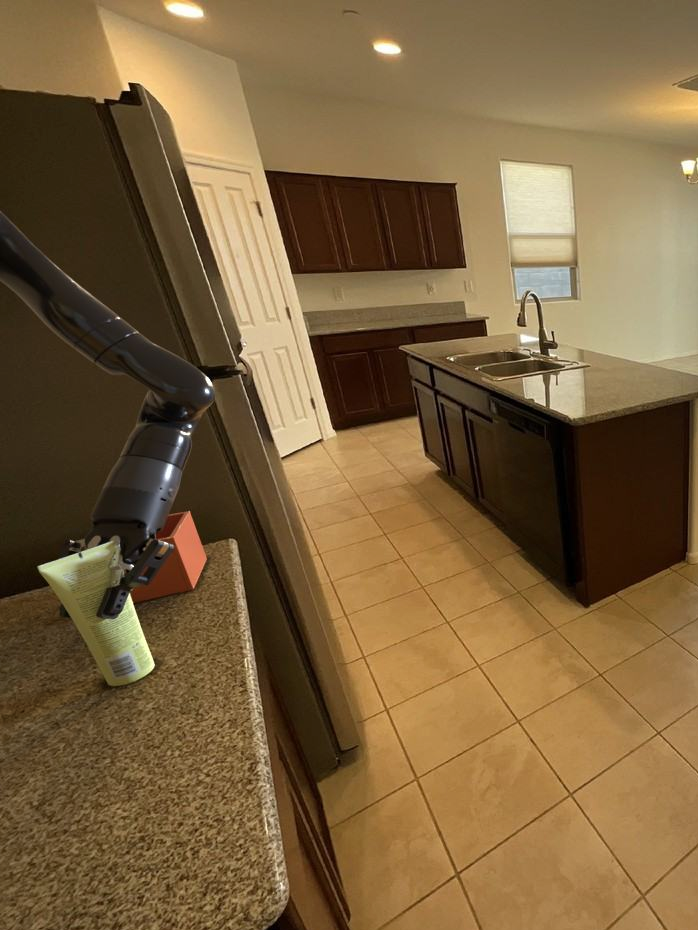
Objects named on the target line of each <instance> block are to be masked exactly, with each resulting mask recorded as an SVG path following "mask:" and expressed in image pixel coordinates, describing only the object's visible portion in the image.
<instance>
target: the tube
mask: <svg viewBox="0 0 698 930" xmlns="http://www.w3.org/2000/svg"><path fill="white" fill-rule="evenodd" d="M114 543H115V540H114V541H111V542H108V543H105V544H103V545H100V546H97V547H94V548H91V549H88V550H85V551H82V552H80V553H76V554H73V555H70V556H67V557H64V558H61V559H59V558H58V559H56V560H53V561H49V562H46V563H44V564H40V565H37V566H36V568H37V571H38V573H39V574H40V575H41V576H42V578H44V579H45V581H46V582H47V583H48V585H49V586H50V587H51V589H52V590H53V592H54V593H55V594H56V596H57V598H58V599H59V601H60V603H61V604H63V605H64V607H65V609H66V610H67V612H68V613H69V615H70V617H71V618H72V619H71V620H72V621H73V623H74V625H75V627H76V628H77V630H78V632H79V633H80V635H81V637H82V639H83V640H84V642H85V644H86V646H87V648H88V649H89V651H90V653H91V655H92V657H93V659H94V660H95V662H96V664H97V666H98V669H99V670H100V672H101V674H102V675H103V678H104V679H105V681H106V684H107V685H108V686H110V687H119V686H125V685H128V684H131V683H134V682H136V681H138V680H140V679H142V678H143V677H146V676H147V675H148V674H150V673H151V672H152V671H153V670H154V668H155V661H154V658H153V655H152V653H151V650H150V648H149V645H148V642H147V640H146V637H145V634H144V631H143V629H142V627H141V623H140V620H139V617H138V615H137V612H136V609H135V608H136V607H135V606H134V603H133V602H132V599H131V596H130V593H129V595H128V598H127V600H126V602H125V605H124V608H123V610H122V612H121V613H120V614H119V615H118V617H117V618H116V619H105V618H99V617H97V615H96V614H97V611H98V609H99V606H100V604H101V601H102V599H103V597H104V594H105V592H106V589H107V588H112V586H111V585H110V580H111V570H110V569H109V567H108V566H109V562H110V560H111V558H112V556H113V553H114V551H115V548H114V547H113V544H114ZM114 554H115V553H114ZM124 577H125V576H124Z"/></svg>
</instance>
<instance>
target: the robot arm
mask: <svg viewBox="0 0 698 930" xmlns="http://www.w3.org/2000/svg"><path fill="white" fill-rule="evenodd" d="M0 282H1V283H3V284H4V285H5V286H6V287H8V288H9V289H10V290H11V291H12V292H13V293H15V294H16V295H17V296H18V297H19V298H21V300H22V301H23V302H24V304H26V305H27V306H28V307H29V308H30V309H31V311H33V313H34V314H35V315H36V316H37V317H38V318H39V319H40V320H41V321H42V322H43V324H45V326H47V327H48V328H49V329H50V330H51V331H52V332H53V333H54V334H55V335H56V336H57V337H59V339H61V340H62V341H64V342H65V343H66V344H67V345H69V346H70V347H72V348H73V349H74V350H76V351H77V352H78V353H79V354H81V355H82V356H84V357H85V358H86V359H88V360H89V361H90V362H92V363H93V364H95V366H98V367H99V368H100V369H102V370H103V371H104V372H107V373H108V374H110V375H112V376H115V377H127V376H128V378H131V379H132V380H134V381H135V382H137V383H139V384H140V385H142V386H144V387H145V388H146V389H148V390H147V393H146V394H145V396H144V399H143V401H142V404H141V407H140V409H139V413H138V415H137V418H136V419H137V420H136V421H135V422H136V423H135V427H134V428H133V429H132V431H131V433H130V434H129V436H128V438H127V440H126V442H125V444H124V447H123V448H122V450H121V453H120V455H119V458H118V460H117V462H116V463H115V464H114V466H113V467H112V468H111V470H110V473H109V474H108V476H107V478H106V480H105V483H104V485H103V487H102V490H101V491H100V494H99V496H98V498H97V500H96V503H95V504H94V507H93V509H92V511H91V514H90V516H89V517H90V520H91V521H92V523H93V527H92V529H91V530H90V531H89V532H88V533H87V534H86V535H85V537H84V538H82V539H78V540H71V539H64V540H62V541H61V542H60V545H59V553H58V559H61V558H64V557H67V556H70V555H73V554H76V553H80V552H82V551H85V550H88V549H91V548H94V547H97V546H100V545H103V544H105V543H108V542H111V541H114V540H115V543H114V544H113V547H114V548H115V551H114V553H115V554H114V553H113V556H112V558H111V560H110V562H109V566H108V567H109V569H110V570H111V580H110V585H111V586H112V588H107V589H106V592H105V594H104V597H103V599H102V601H101V604H100V606H99V609H98V611H97V614H96V615H97V617H99V618H105V619H116V618H117V617H118V615H119V614H120V613H121V612H122V610H123V608H124V605H125V602H126V600H127V598H128V595H129V593H130V591H131V590H133V589H135V587H137V586H140V585H143V586H147V585H149V584H150V583H151V581H152V580H153V578H154V577H155V575H156V574H157V572H158V571H159V569H160V568H161V567H162V565H163V564H164V562H165V561H166V559H167V558H168V556H169V555H170V554H171V552H172V551H173V549H174V546H173V545H171V544H169V543H166V542H163V541H159V540H156V533H158V532H160V531H162V530H163V528H164V525H165V523H166V520H167V517H168V515H170V511H172V507H173V504H174V501H175V499H176V497H177V494H178V491H179V489H180V486H181V480H182V476H183V472H184V470H185V467H186V465H187V463H188V459H189V458H190V454H191V452H192V446H193V441H192V437H193V435H194V433H195V431H196V427H197V425H198V423H199V421H200V419H201V417H202V416H203V414H204V413H205V412H206V411H207V410H208V409H209V407H210V406H211V405H212V404H213V403H214V401H215V398H216V389H215V386H214V384H213V383H212V381H211V379H210V378H209V377H208V376H207V375H206V374H205V373H204V372H202V370H200V369H199V368H198V367H196V366H195V365H193V364H192V363H190V362H189V361H187V360H185V359H183V358H182V357H180V356H178V355H177V354H174V353H173V352H171V351H169V350H167V349H165V348H164V347H162V346H160V345H158V344H155V343H154V342H152V341H151V340H149V339H148V338H147V337H145V336H144V335H143V334H142V333H140V332H139V331H138V330H137V329H135V327H133V326H132V325H130V324H129V323H128V322H127V321H126V320H124V319H123V318H122V317H121V316H119V315H118V314H117V313H115V312H114V311H113V310H111V309H110V308H109V307H108V306H107V305H105V304H103V302H102V301H100V300H99V299H98V298H96V297H95V296H93V295H92V293H90V292H89V291H87V290H86V289H85V288H83V287H82V286H81V285H80V284H78V282H76V281H75V280H74V279H73V278H71V277H70V276H69V275H68V274H67V273H66V272H64V270H62V269H61V268H59V267H58V266H57V265H56V264H55V263H54V262H53V261H52V260H51V259H49V257H47V255H45V254H44V253H43V252H42V251H41V250H40V249H39V248H38V247H37V246H36V245H35V244H33V242H31V240H29V238H28V237H27V236H26V235H25V234H24V233H23V232H22V231H21V230H19V228H18V227H17V226H16V225H15V224H14V223H13V222H12V221H11V220H10V219H9V218H8V217H7V216H6V215H5V214H4V213H3V212H2V211H1V210H0ZM146 567H148V569H147V570H146V571H145V573H144V574H143V575H141V573H142V572H143V570H144V569H145V568H146ZM124 574H125V577H124ZM58 615H59V617H60V618H62V619H63V618H64V619H69V620H70V619H71V620H72V618H71V617H70V615H69V613H68V612H67V610H66V609H65V607H64V605H63V604H62V603H61V605H60V607H59V613H58Z"/></svg>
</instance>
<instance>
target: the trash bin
mask: <svg viewBox="0 0 698 930" xmlns="http://www.w3.org/2000/svg"><path fill="white" fill-rule="evenodd" d="M156 540H159V541H163V542H166V543H169V544H171V545H173V546H174V549H173V551H172V552H171V554H170V555H169V556H168V558H167V559H166V561H165V562H164V564H163V565H162V567H161V568H160V569H159V571H158V572H157V574H156V575H155V577H154V578H153V580H152V581H151V583H150V584H149V585H147V586H143V585H140V586H137V587H135V589H133V590H131V591H130V596H131V599H132V602H133V604H134V603H139V602H143V601H148V600H152V599H157V598H161V597H166V596H170V595H174V594H179V593H183V592H188V591H192V590H194V589H195V587H196V585H197V582H198V580H199V578H200V576H201V573H202V571H203V569H204V567H205V565H206V562H207V560H208V558H207V555H206V553H205V549H204V546H203V543H202V541H201V539H200V536H199V533H198V531H197V528H196V525H195V522H194V519H193V517H192V514H191V511H190V510H188V511H181V512H177V513H171V514H170V513H169V515H168V517H167V520H166V523H165V525H164V528H163V530H162V531H160V532H158V533H156ZM147 569H148V567H146V568H145V569H144V570H143V572H142V573H141V575H143V574H144V573H145V571H146V570H147ZM124 576H125V574H124Z"/></svg>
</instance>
